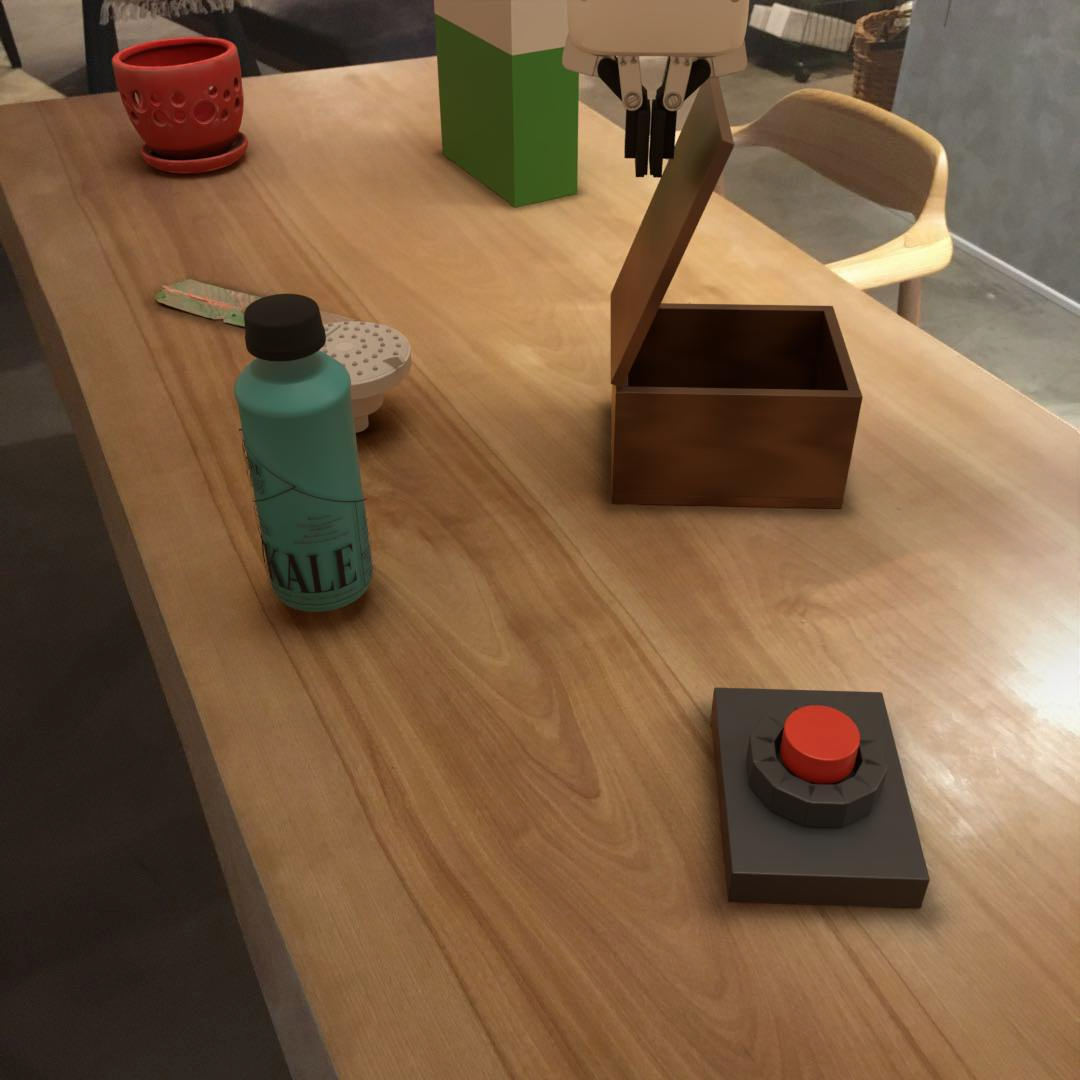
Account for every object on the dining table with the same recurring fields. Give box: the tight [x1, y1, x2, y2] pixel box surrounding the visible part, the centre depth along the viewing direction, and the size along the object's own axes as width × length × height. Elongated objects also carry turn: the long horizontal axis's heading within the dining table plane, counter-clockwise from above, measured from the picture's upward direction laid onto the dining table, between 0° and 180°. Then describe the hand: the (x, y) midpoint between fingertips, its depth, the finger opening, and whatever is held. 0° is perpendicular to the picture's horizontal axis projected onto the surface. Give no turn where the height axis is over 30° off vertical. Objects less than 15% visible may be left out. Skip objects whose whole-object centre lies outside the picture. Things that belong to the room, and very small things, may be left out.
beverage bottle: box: [233, 293, 376, 613], centre depth 67 cm, size 6×7×20 cm
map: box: [154, 278, 357, 328], centre depth 103 cm, size 5×20×1 cm, turn 63°
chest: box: [610, 302, 864, 509], centre depth 82 cm, size 16×13×9 cm
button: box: [780, 705, 860, 784], centre depth 57 cm, size 4×4×2 cm
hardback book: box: [433, 0, 580, 208], centre depth 121 cm, size 18×7×24 cm, turn 29°
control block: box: [710, 687, 931, 909], centre depth 59 cm, size 12×9×4 cm
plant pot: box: [111, 36, 249, 175], centre depth 129 cm, size 13×13×12 cm
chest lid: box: [610, 77, 735, 387], centre depth 75 cm, size 17×13×1 cm
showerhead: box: [319, 320, 412, 434], centre depth 86 cm, size 9×7×10 cm
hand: (648, 168), depth 72 cm, fingers closed
